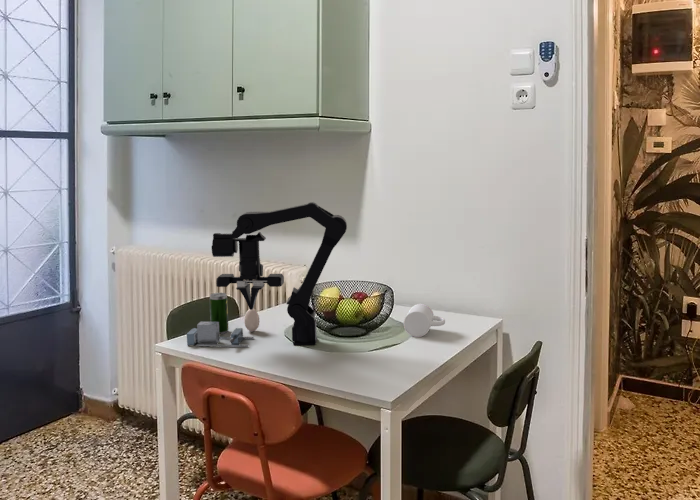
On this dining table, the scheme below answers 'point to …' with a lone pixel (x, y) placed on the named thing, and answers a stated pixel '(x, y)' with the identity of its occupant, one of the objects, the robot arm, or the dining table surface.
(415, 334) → the mug
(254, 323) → the egg
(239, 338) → the block
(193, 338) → the vise bed
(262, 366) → the dining table surface
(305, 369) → the dining table surface
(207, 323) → the steel block
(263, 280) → the robot arm
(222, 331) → the green soda can
